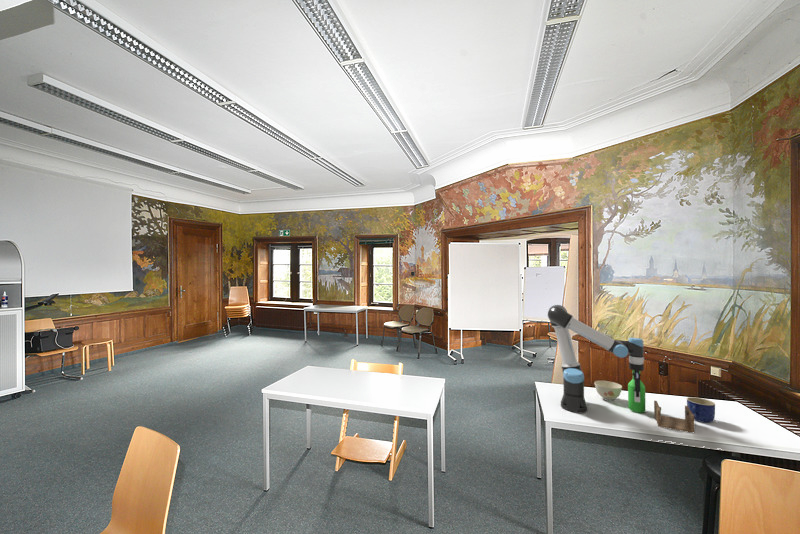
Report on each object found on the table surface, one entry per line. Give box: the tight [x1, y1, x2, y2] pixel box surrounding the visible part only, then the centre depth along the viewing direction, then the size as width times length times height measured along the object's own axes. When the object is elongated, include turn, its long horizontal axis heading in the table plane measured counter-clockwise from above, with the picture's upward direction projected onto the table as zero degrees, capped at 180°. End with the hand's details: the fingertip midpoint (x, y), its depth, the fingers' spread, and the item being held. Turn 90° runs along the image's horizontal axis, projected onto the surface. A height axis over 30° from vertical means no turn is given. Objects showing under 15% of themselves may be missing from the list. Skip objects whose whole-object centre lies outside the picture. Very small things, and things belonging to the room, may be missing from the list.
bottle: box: [627, 370, 646, 414], centre depth 208 cm, size 9×9×25 cm
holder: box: [653, 400, 695, 433], centre depth 189 cm, size 15×16×9 cm
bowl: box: [594, 380, 623, 402], centre depth 226 cm, size 16×16×10 cm
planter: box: [686, 396, 716, 424], centre depth 195 cm, size 12×12×11 cm
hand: (636, 399), depth 207 cm, fingers closed on bottle, 9 cm apart
